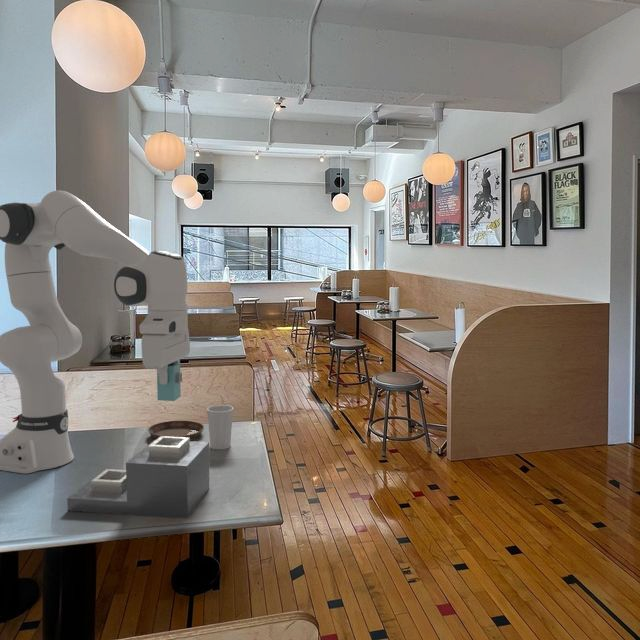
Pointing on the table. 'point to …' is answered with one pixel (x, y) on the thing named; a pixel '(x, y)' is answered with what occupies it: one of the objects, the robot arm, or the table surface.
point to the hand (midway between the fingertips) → (168, 381)
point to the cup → (220, 426)
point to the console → (151, 482)
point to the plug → (170, 384)
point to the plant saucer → (176, 429)
